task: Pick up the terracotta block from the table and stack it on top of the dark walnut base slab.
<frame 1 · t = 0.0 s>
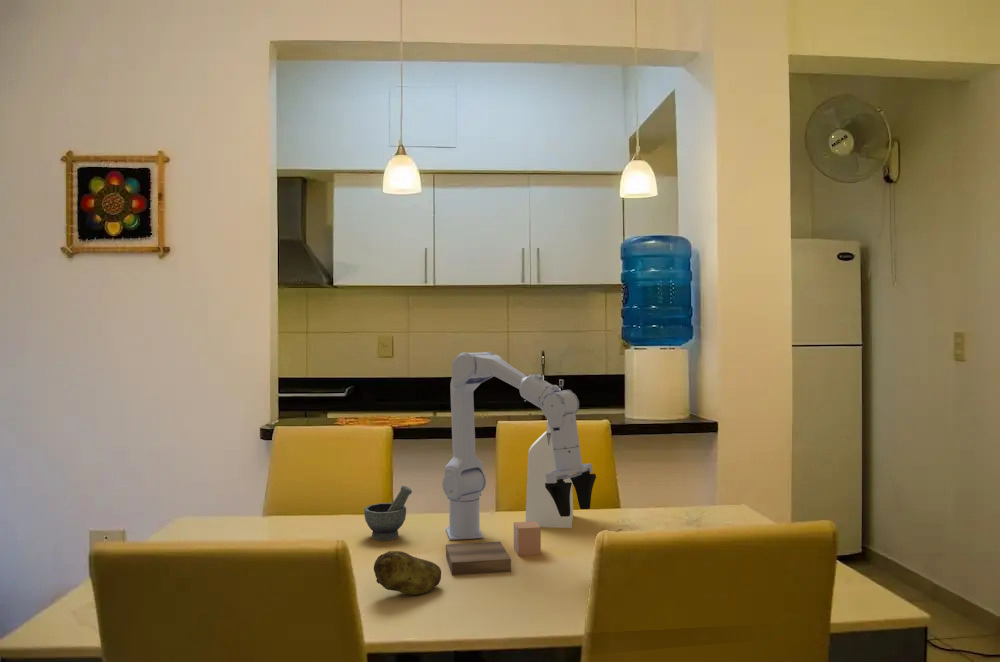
hand: (575, 512, 147), 11 cm above the table, tool pointing down, fingers open, 7 cm apart
milk: (549, 521, 180), on the table
potato: (408, 594, 130), on the table
walnut base slab: (477, 563, 146), on the table
mortar and pestle: (388, 537, 166), on the table
terracotta block: (527, 551, 154), on the table
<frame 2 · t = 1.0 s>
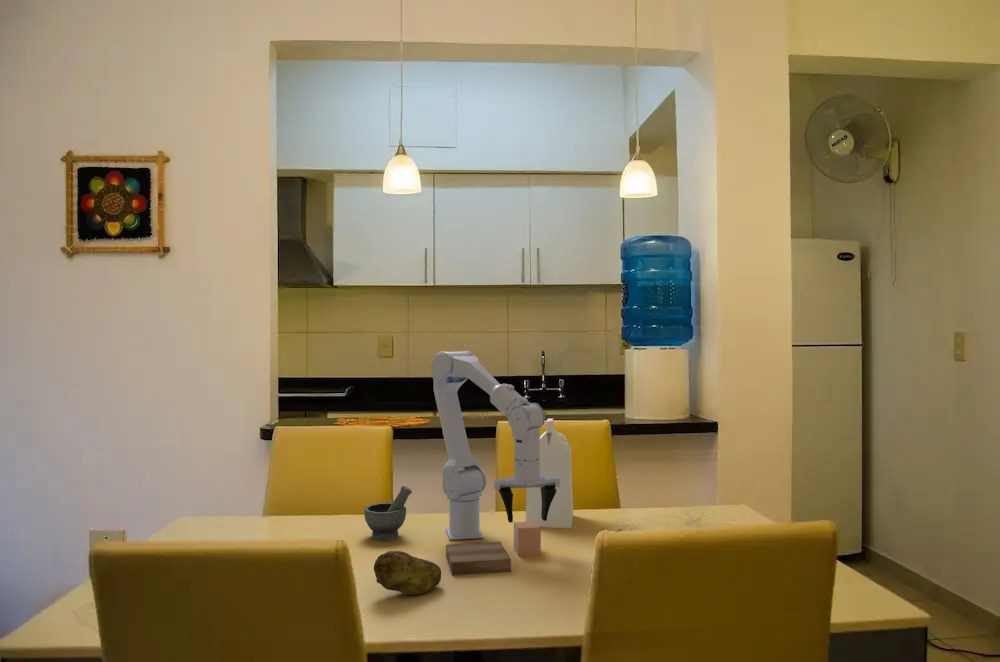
hand: (527, 520, 154), 7 cm above the table, tool pointing down, fingers open, 7 cm apart
nothing on the table moved.
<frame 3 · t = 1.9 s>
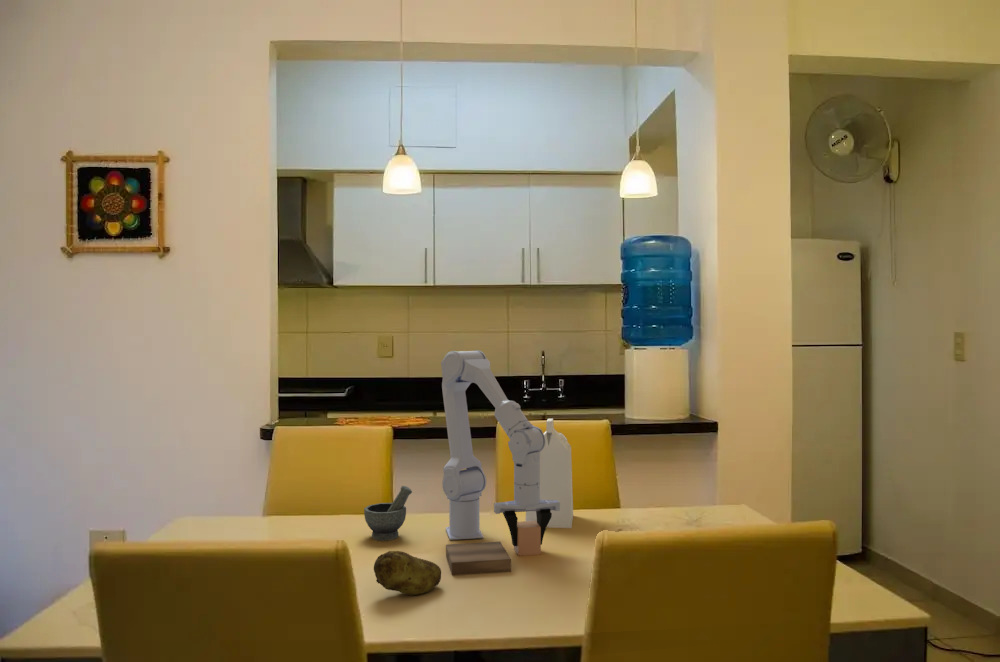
hand: (527, 544, 154), 2 cm above the table, tool pointing down, fingers closed on terracotta block, 5 cm apart
terracotta block: (527, 551, 154), on the table, touching gripper
everything else where it was.
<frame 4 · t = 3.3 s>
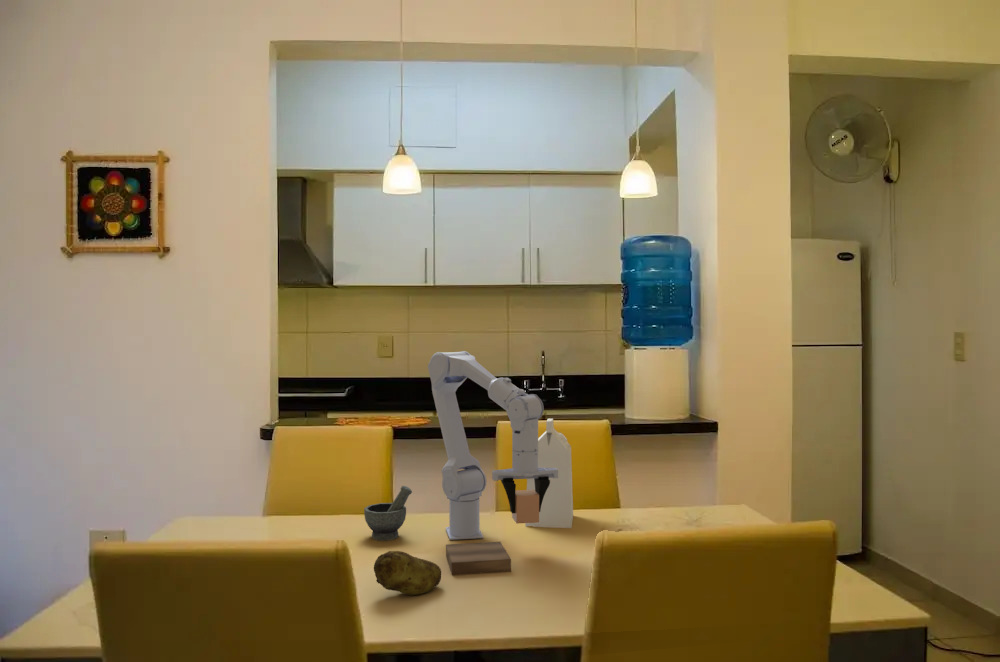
hand: (525, 511, 154), 9 cm above the table, tool pointing down, fingers closed on terracotta block, 5 cm apart
terracotta block: (525, 519, 154), point 7 cm above the table, touching gripper
everything else where it was.
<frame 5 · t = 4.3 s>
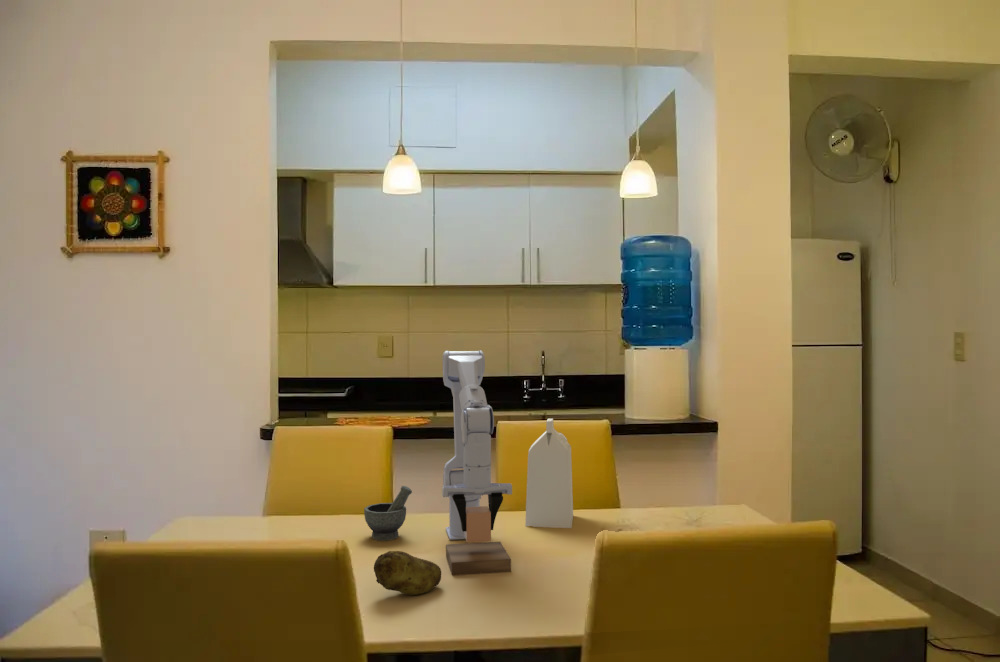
hand: (477, 529, 146), 7 cm above the table, tool pointing down, fingers closed on terracotta block, 5 cm apart
terracotta block: (477, 538, 146), point 5 cm above the table, touching gripper
everything else where it was.
when the fingers open (6 cm above the table, at t = 5.0 s): terracotta block drops 1 cm, resting on walnut base slab.
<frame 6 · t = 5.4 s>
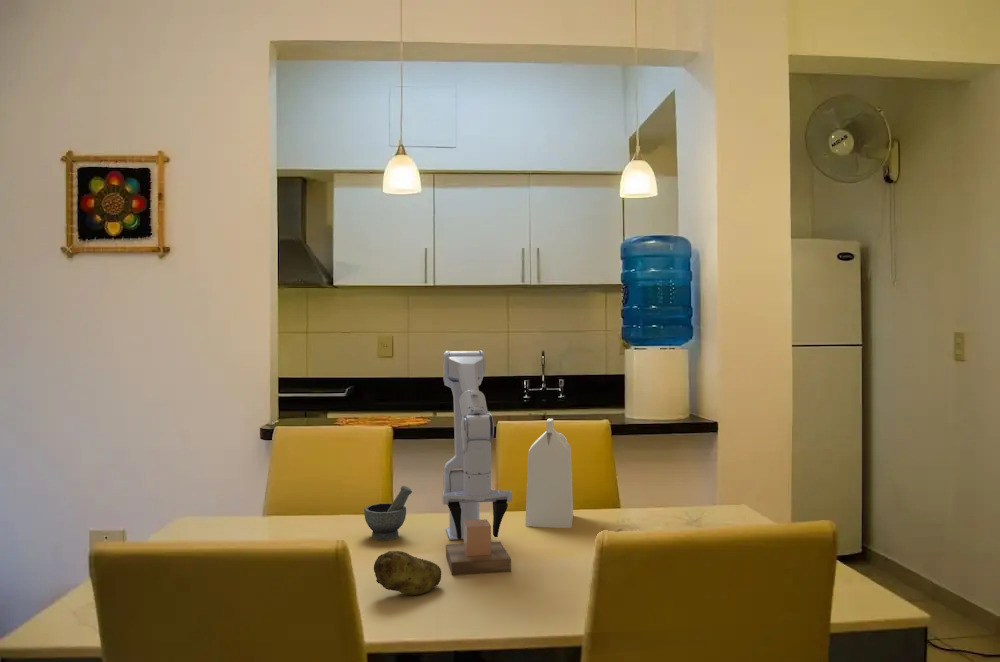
hand: (477, 536, 146), 6 cm above the table, tool pointing down, fingers open, 7 cm apart
terracotta block: (477, 551, 146), point 2 cm above the table, touching walnut base slab
everything else where it was.
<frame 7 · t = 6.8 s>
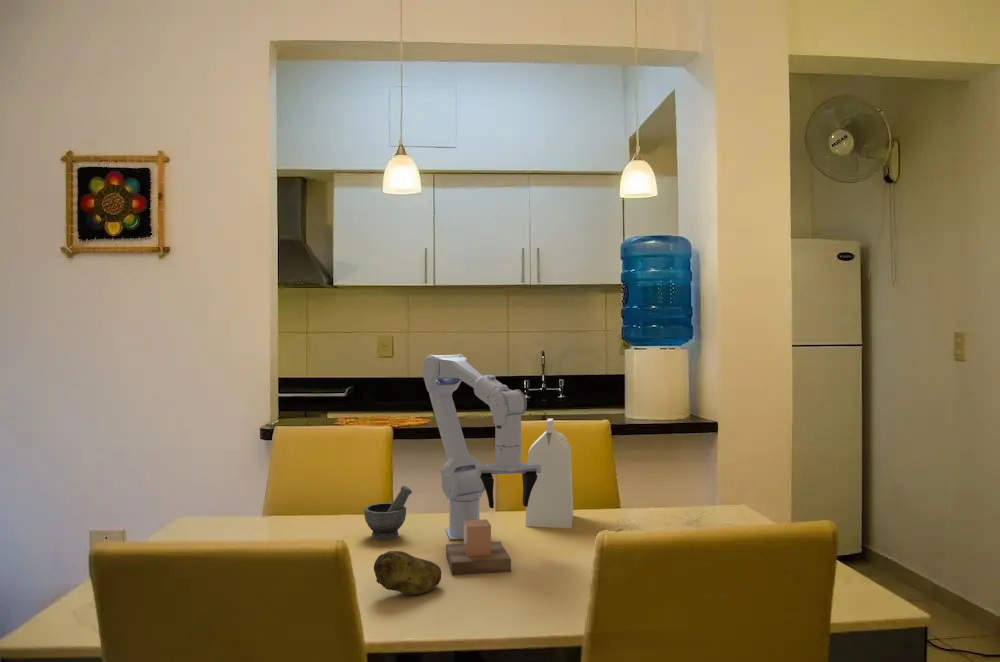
hand: (508, 506, 155), 10 cm above the table, tool pointing down, fingers open, 7 cm apart
nothing on the table moved.
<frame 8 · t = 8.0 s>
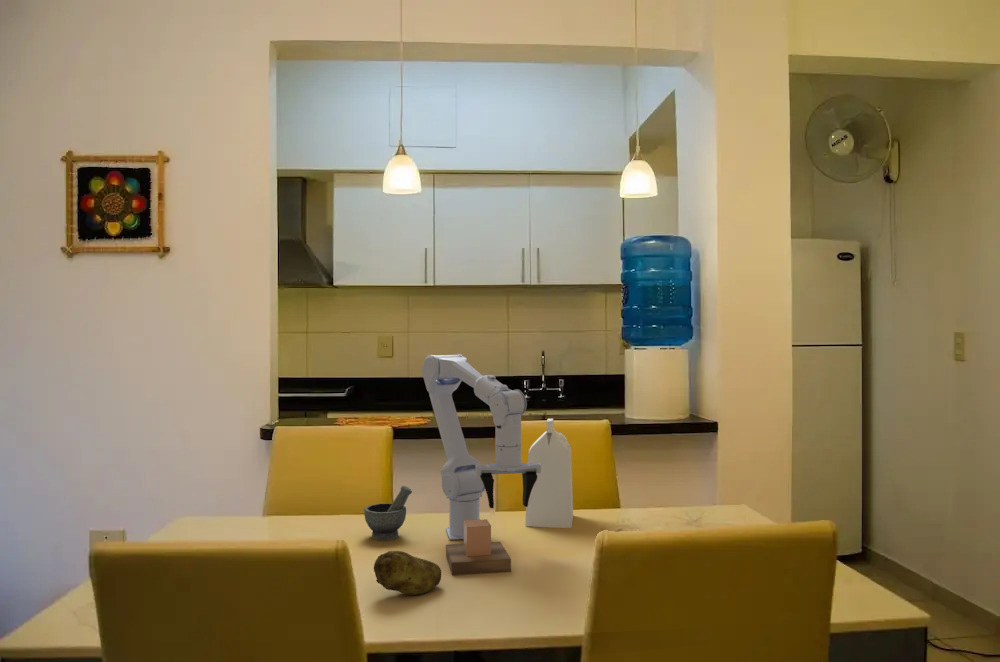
hand: (508, 506, 155), 10 cm above the table, tool pointing down, fingers open, 7 cm apart
nothing on the table moved.
at the end: terracotta block inside the target area on the walnut base slab (0.1 cm from its centre), point 2.5 cm above the walnut base slab's base; terracotta block tilted 0°; the gripper is holding nothing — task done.
